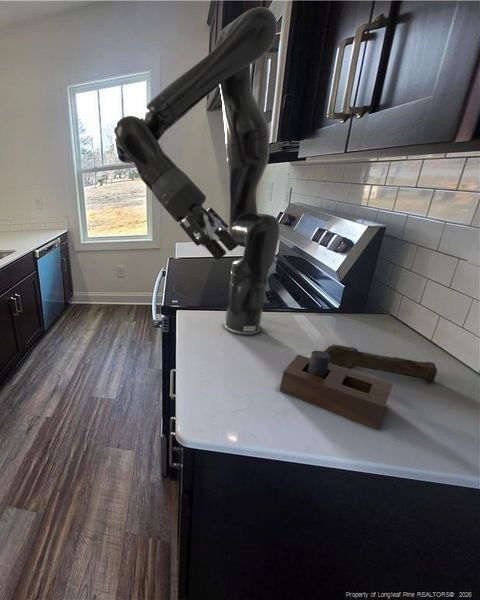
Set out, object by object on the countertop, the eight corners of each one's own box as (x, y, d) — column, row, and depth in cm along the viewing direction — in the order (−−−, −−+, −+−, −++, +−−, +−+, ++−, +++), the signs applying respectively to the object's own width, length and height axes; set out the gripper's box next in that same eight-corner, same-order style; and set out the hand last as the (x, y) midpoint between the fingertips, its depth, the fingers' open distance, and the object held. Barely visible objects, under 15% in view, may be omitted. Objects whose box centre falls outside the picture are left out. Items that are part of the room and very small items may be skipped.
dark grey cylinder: (305, 385, 68) (314, 348, 65) (323, 391, 66) (332, 354, 63) (300, 391, 66) (309, 354, 63) (318, 398, 64) (328, 360, 61)
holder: (294, 373, 72) (298, 354, 71) (385, 405, 61) (393, 383, 59) (279, 390, 67) (283, 370, 65) (376, 429, 56) (384, 406, 54)
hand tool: (427, 375, 69) (434, 357, 67) (433, 385, 66) (441, 366, 64) (320, 355, 79) (324, 338, 77) (321, 363, 75) (325, 346, 74)
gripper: (176, 182, 60) (234, 247, 57) (203, 179, 70) (253, 234, 67) (150, 211, 65) (202, 272, 62) (178, 204, 75) (224, 256, 72)
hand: (228, 252), depth 65 cm, fingers open, 8 cm apart
